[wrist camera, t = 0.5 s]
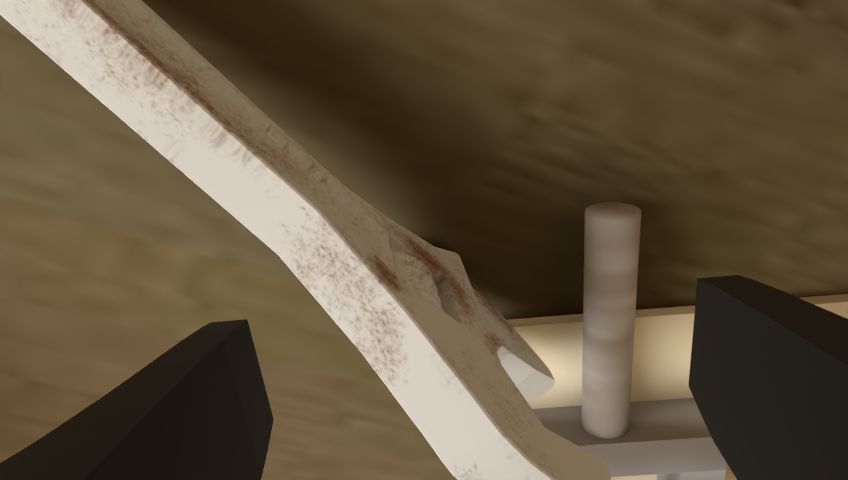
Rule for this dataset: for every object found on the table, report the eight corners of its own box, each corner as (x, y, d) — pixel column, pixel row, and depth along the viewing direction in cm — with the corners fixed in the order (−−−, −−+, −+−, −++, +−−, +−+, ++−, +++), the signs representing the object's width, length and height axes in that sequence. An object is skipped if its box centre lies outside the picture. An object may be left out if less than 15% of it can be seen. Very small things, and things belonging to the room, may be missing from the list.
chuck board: (919, 549, 25) (967, 606, 23) (475, 575, 26) (479, 632, 24) (1055, 155, 18) (1144, 181, 16) (443, 207, 19) (446, 238, 17)
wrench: (-166, -333, 16) (581, 363, 21) (-191, -271, 17) (543, 394, 22) (-733, -652, 9) (636, 549, 14) (-745, -520, 9) (575, 588, 14)
